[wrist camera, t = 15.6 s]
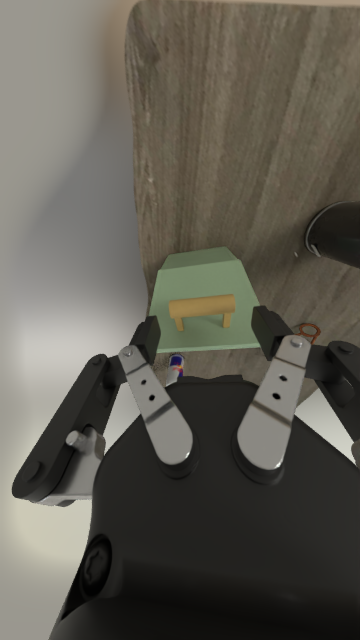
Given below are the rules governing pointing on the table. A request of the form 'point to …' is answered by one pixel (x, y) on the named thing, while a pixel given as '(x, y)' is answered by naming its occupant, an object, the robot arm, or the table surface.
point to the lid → (204, 307)
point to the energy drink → (175, 368)
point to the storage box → (198, 257)
